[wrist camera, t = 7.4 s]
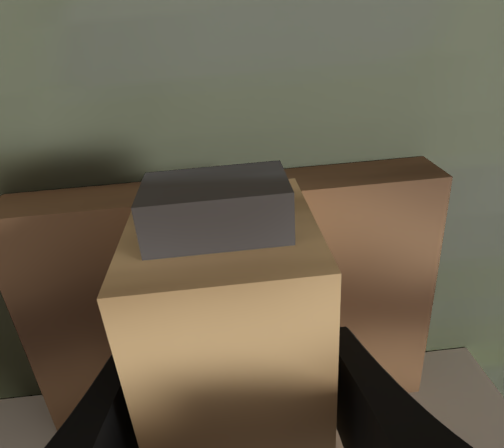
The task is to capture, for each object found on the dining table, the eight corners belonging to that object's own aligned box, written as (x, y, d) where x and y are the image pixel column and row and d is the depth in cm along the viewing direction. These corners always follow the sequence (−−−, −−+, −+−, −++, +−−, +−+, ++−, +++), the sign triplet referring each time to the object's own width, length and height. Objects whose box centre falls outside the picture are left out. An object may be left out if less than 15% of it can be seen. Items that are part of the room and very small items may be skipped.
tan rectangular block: (299, 397, 17) (332, 541, 12) (182, 411, 16) (171, 562, 12) (293, 137, 12) (343, 215, 7) (130, 152, 12) (80, 241, 7)
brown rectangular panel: (399, 354, 19) (418, 391, 17) (73, 391, 18) (57, 433, 16) (423, 156, 15) (452, 177, 13) (3, 194, 14) (-28, 221, 12)
